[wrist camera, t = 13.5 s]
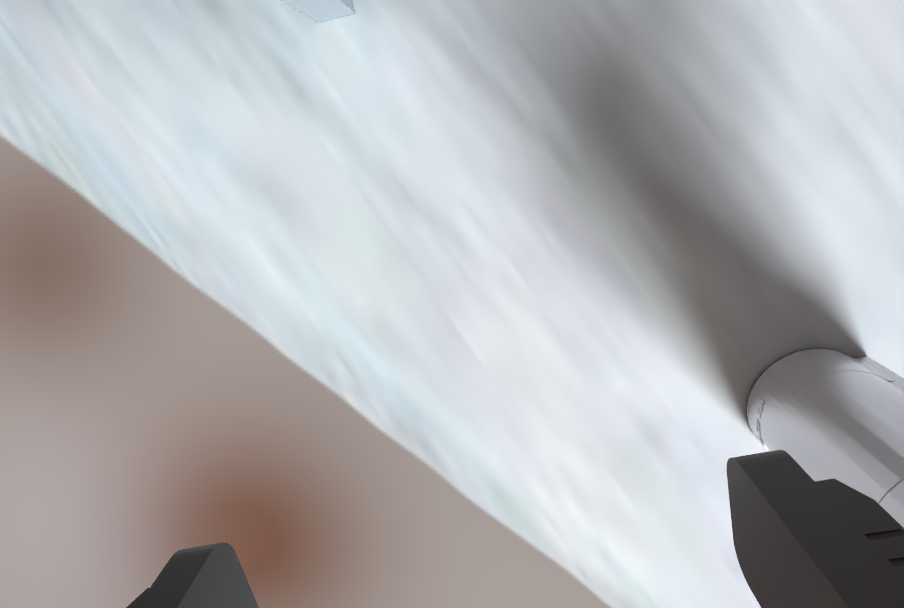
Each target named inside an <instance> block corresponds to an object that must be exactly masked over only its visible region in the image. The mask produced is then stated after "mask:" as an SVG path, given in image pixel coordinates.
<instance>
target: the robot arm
mask: <svg viewBox="0 0 904 608" xmlns="http://www.w3.org/2000/svg"><path fill="white" fill-rule="evenodd" d="M747 418H748V423H749V426H750V428H751V430H752V432H753V434H754V435H755V436H756V437H757V438H758V440H759V441H760V442H761V443H762V445H763V446H764V448H765V449H766V450H767V451H769V452H764V453H758V454H752V455H746V456H740V457H734V458H730V459H729V460H728V462H727V478H728V489H729V499H730V509H731V519H732V530H733V540H734V546H735V550H736V554H737V558H738V561H739V564H740V567H741V570H742V572H743V575H744V577H745V579H746V581H747V583H748V585H749V587H750V589H751V591H752V592H753V594H754V596H755V597H756V599H757V601H758V603H759V604H760V606H761V608H904V378H902V377H900V376H899V375H897V374H895V373H894V372H892V371H890V370H889V369H887V368H886V367H884V366H882V365H881V364H879V363H877V362H876V361H874V360H872V359H871V358H869V357H861V358H852V357H850V356H847V355H845V354H843V353H841V352H839V351H834V350H829V349H809V350H803V351H798V352H796V353H793V354H790V355H788V356H785V357H784V358H782V359H780V360H778V361H777V362H775V363H774V364H773V365H771V366H770V367H769V368H768V369H767V370H765V371H764V372H763V374H762V375H761V376H760V377H759V378H758V380H757V381H756V383H755V384H754V386H753V388H752V390H751V392H750V395H749V399H748V402H747ZM127 608H259V607H258V605H257V603H256V600H255V598H254V595H253V593H252V591H251V588H250V586H249V584H248V581H247V579H246V577H245V574H244V572H243V569H242V567H241V565H240V563H239V560H238V558H237V555H236V553H235V551H234V549H233V548H232V547H231V546H230V545H229V544H228V543H217V544H211V545H205V546H199V547H194V548H187V549H182V550H179V551H177V552H176V553H175V554H174V555H173V556H172V557H171V558H170V560H169V561H168V563H167V564H166V566H165V567H164V568H163V570H162V571H161V573H160V574H159V576H158V577H157V579H156V580H155V582H154V583H153V585H152V586H151V587H150V588H147V589H146V590H145V591H144V592H143V593H142V594H141V595H140V596H138V597H137V598H136V599H135V600H134V601H133V602H132V603H131V604H130V605H129V606H128V607H127Z"/></svg>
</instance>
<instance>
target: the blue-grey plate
mask: <svg viewBox="0 0 904 608" xmlns="http://www.w3.org/2000/svg"><path fill="white" fill-rule="evenodd" d="M281 1H283V2H284V3H286V4H288V5H289V6H291V7H293V8H294V9H296V10H298V11H299V12H301V13H303V14H304V15H306V16H308V17H309V18H311V19H312V20H314V21H316V22H317V23H321V22H325V21H329V20H333V19H336V18H340V17H344V16H348V15H352V14H355V10H354V6H353V2H352V0H281Z"/></svg>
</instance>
